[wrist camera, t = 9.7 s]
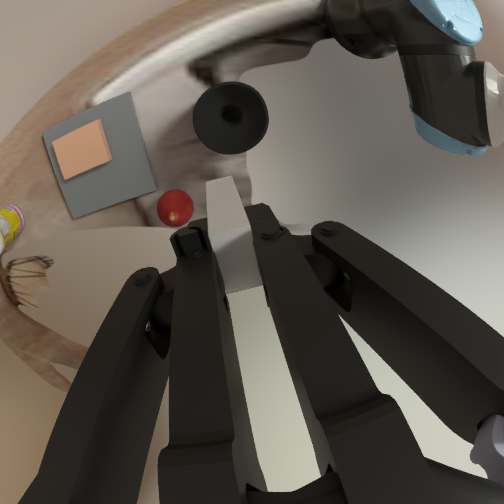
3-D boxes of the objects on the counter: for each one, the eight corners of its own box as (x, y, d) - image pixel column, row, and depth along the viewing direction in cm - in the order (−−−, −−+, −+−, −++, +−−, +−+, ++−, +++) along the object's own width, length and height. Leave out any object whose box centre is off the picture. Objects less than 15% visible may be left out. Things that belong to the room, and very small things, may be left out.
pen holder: (186, 131, 39) (181, 140, 31) (209, 77, 35) (210, 70, 27) (241, 151, 43) (251, 164, 34) (264, 99, 39) (281, 99, 30)
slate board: (130, 92, 34) (128, 92, 33) (157, 188, 43) (156, 190, 42) (45, 132, 33) (42, 133, 32) (75, 216, 43) (73, 219, 42)
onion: (194, 214, 47) (193, 236, 40) (162, 216, 46) (155, 238, 39) (193, 182, 44) (191, 199, 37) (159, 184, 43) (151, 201, 36)
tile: (97, 119, 33) (52, 142, 32) (109, 160, 36) (64, 180, 36) (100, 118, 34) (56, 140, 34) (112, 158, 38) (68, 177, 38)
